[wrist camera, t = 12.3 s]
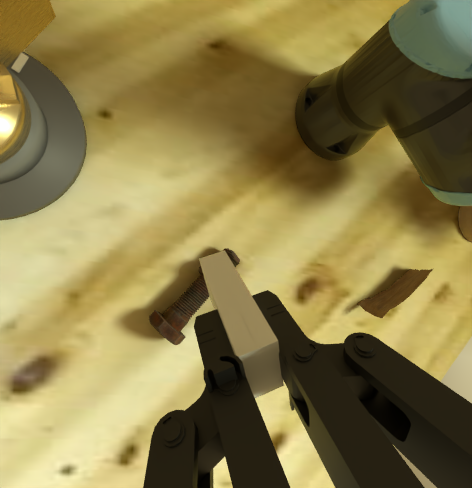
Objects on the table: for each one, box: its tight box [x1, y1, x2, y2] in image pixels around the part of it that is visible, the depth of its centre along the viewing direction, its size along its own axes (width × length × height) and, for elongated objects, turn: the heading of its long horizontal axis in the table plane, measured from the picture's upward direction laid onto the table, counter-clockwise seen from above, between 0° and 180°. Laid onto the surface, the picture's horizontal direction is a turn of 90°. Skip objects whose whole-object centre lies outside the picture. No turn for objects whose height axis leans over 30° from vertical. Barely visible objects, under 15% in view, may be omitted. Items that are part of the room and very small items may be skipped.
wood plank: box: [357, 269, 433, 318], centre depth 50 cm, size 15×2×5 cm, turn 119°
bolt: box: [149, 249, 240, 345], centre depth 38 cm, size 6×5×15 cm
